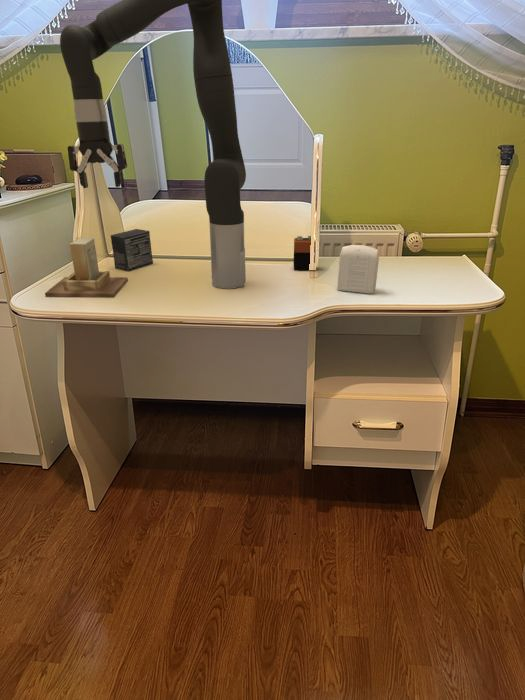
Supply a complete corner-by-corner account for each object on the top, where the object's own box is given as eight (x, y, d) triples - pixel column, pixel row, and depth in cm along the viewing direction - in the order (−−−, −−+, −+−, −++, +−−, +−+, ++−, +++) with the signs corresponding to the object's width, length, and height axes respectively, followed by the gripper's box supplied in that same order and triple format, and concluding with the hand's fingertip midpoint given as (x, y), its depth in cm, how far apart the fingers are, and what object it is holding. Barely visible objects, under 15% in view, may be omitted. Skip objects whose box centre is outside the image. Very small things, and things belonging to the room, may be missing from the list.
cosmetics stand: (127, 280, 148) (126, 268, 146) (113, 297, 135) (112, 284, 133) (65, 280, 148) (63, 268, 146) (45, 296, 135) (43, 284, 134)
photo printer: (376, 290, 140) (380, 244, 135) (374, 295, 136) (379, 249, 131) (338, 286, 143) (341, 242, 138) (335, 291, 139) (338, 246, 134)
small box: (139, 260, 167) (136, 227, 162) (154, 263, 163) (150, 230, 159) (113, 268, 159) (109, 234, 154) (128, 271, 156) (123, 237, 151)
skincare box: (86, 281, 144) (79, 237, 139) (101, 281, 144) (94, 237, 138) (76, 288, 138) (68, 243, 133) (91, 288, 138) (84, 243, 133)
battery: (316, 271, 156) (317, 238, 152) (293, 271, 156) (294, 238, 152) (315, 267, 160) (316, 234, 156) (293, 266, 160) (294, 234, 156)
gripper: (123, 118, 132) (132, 184, 139) (68, 120, 133) (79, 186, 140) (116, 119, 126) (125, 188, 133) (57, 121, 126) (70, 190, 133)
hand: (101, 187), depth 136 cm, fingers open, 8 cm apart
